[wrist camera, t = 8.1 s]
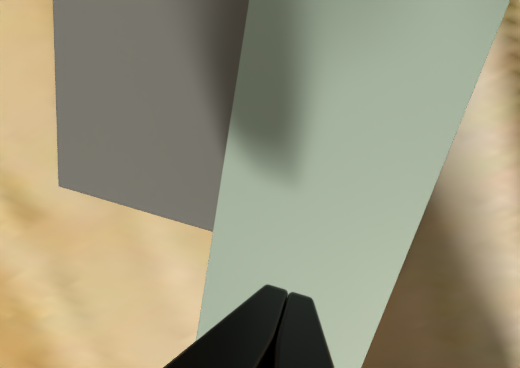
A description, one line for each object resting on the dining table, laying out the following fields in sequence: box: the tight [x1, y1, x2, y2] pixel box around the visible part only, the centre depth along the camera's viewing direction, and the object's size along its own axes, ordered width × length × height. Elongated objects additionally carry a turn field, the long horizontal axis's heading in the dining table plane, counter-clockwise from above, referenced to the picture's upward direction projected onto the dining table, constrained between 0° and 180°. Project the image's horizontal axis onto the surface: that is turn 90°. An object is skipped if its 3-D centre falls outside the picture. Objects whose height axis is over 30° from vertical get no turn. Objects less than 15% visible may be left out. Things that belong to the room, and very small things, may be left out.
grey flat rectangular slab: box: [53, 0, 249, 232], centre depth 19 cm, size 16×14×1 cm
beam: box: [196, 0, 510, 368], centre depth 12 cm, size 14×4×4 cm, turn 170°
